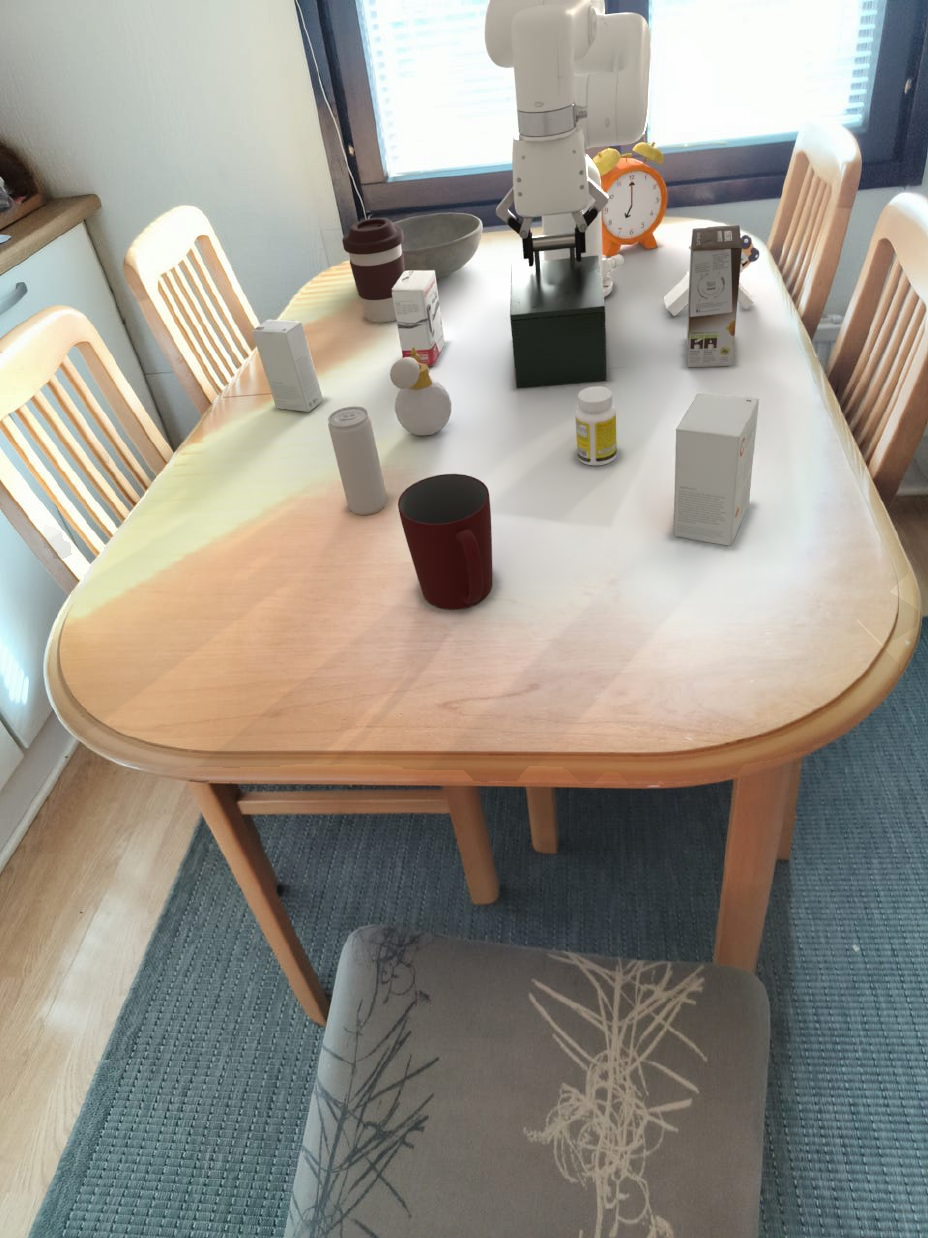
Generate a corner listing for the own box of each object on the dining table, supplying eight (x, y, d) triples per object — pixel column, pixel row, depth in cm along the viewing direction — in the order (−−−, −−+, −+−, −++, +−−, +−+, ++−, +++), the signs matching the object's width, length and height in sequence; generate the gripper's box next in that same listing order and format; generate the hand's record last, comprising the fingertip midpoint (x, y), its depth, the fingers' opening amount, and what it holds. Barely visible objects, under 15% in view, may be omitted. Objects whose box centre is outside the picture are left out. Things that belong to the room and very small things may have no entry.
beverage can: (348, 498, 108) (327, 409, 101) (387, 492, 108) (369, 402, 101) (348, 519, 105) (325, 429, 97) (388, 513, 105) (369, 422, 97)
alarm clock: (598, 260, 160) (595, 137, 147) (587, 250, 164) (583, 130, 151) (667, 245, 161) (671, 123, 148) (654, 236, 166) (656, 116, 153)
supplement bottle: (620, 447, 110) (619, 385, 104) (612, 468, 106) (611, 404, 101) (582, 445, 111) (579, 383, 106) (573, 465, 108) (570, 402, 103)
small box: (692, 496, 100) (698, 390, 91) (750, 505, 97) (761, 396, 89) (671, 537, 95) (674, 428, 86) (730, 547, 92) (740, 436, 84)
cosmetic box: (324, 399, 130) (305, 319, 122) (307, 414, 127) (286, 333, 119) (290, 395, 132) (269, 316, 125) (273, 409, 130) (250, 329, 122)
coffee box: (733, 366, 122) (743, 247, 112) (686, 368, 124) (691, 250, 113) (731, 338, 129) (740, 223, 119) (685, 340, 130) (691, 226, 120)
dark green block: (512, 269, 131) (509, 232, 127) (598, 260, 129) (597, 223, 125) (510, 320, 119) (506, 282, 115) (605, 311, 117) (604, 272, 114)
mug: (525, 615, 88) (516, 523, 81) (442, 644, 86) (425, 552, 79) (481, 552, 97) (469, 464, 90) (404, 577, 95) (386, 490, 88)
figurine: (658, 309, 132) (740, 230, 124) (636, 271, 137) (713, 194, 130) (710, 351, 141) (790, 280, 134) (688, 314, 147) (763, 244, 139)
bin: (518, 342, 137) (512, 278, 131) (600, 334, 136) (599, 270, 129) (516, 388, 125) (510, 321, 119) (606, 380, 124) (605, 312, 117)
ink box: (434, 367, 134) (422, 289, 126) (403, 368, 135) (389, 291, 127) (446, 342, 140) (435, 267, 133) (416, 343, 141) (404, 269, 134)
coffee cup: (348, 325, 150) (329, 234, 141) (374, 302, 157) (357, 214, 148) (400, 328, 147) (384, 234, 137) (424, 304, 154) (410, 213, 144)
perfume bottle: (450, 412, 122) (438, 328, 114) (460, 446, 115) (448, 359, 107) (397, 422, 122) (381, 338, 114) (403, 456, 115) (386, 370, 107)
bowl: (445, 301, 154) (439, 254, 148) (351, 290, 163) (342, 245, 158) (506, 258, 166) (502, 213, 161) (415, 250, 176) (409, 207, 171)
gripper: (612, 105, 117) (614, 244, 128) (482, 121, 119) (495, 257, 131) (616, 119, 111) (617, 264, 123) (479, 136, 113) (493, 276, 125)
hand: (554, 259), depth 127 cm, fingers closed on dark green block, 6 cm apart
